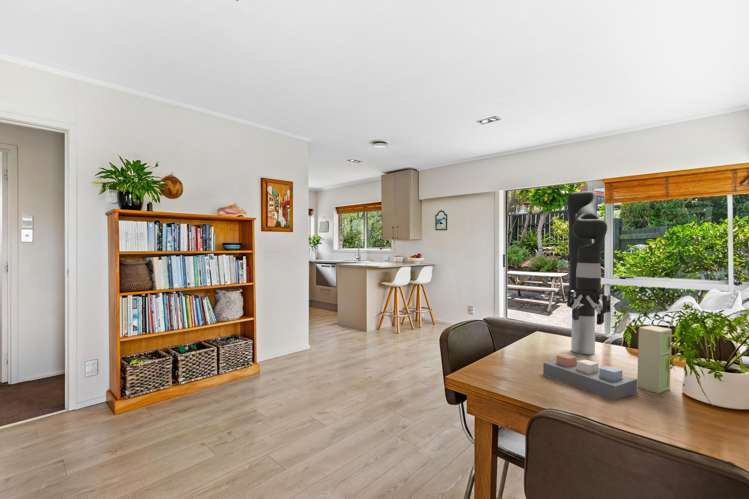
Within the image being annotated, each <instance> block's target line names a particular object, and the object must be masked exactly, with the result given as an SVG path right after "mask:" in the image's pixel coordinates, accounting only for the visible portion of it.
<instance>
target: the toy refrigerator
mask: <svg viewBox="0 0 749 499" xmlns="http://www.w3.org/2000/svg"><path fill="white" fill-rule="evenodd" d="M672 332H673V330H672V328H668V327H661V326H657V325H644V326H640V327H638V341H637V342H638V347H637V348H638V349H637V378H636V379H637V388H639V389H643V390H646V391H649V392H652V393H655V394H661V393H663V392H666V391H669V390H670V389H671V365H672V363H671V364H670V359H669V357H670V356H671V357H672V339H673V338H672V336H673V335H672V334H673V333H672ZM666 344H667V345H666ZM668 345H671V346H668Z"/></svg>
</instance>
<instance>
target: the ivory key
mask: <svg viewBox="0 0 749 499" xmlns="http://www.w3.org/2000/svg"><path fill="white" fill-rule="evenodd" d="M598 368H599V362H595V361H592V360H588V359H581V360H577V370H579V371H582V372H585V373H588V374H593V373H597V372H598Z"/></svg>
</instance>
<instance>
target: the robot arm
mask: <svg viewBox="0 0 749 499" xmlns="http://www.w3.org/2000/svg"><path fill="white" fill-rule="evenodd" d="M598 205H599V203H598V196H597V193H596V192H595V191H592V190H588V191H576V192H575V191H572V192H569V193H568V195H567V199H566V207H567V218H568V257H569V258H568V259H569V278H568V279H569V280H568V281H569V282H568V290H567V297H566V306H567V308H570V309H571V344H570V347H571V352H573V353H576V354H579V355H580V354H581V355H593V354H595V352H596V330H595V328H596V327H595V325H597V326H600V325H603V324H604V322H605V314H607V313H611V295H610V294H601V289H602V286H601V285H602V284H601V283H602V282H601V281H602V268H601V267H602V266H601V251H602V247H603V243H604V241H605V238H606V234H607V232H608V225H607V222H606V220H604V219H603V218H599V216H598V207H599V206H598ZM593 240H594V241H593ZM600 301H601V302H602V303H601V302H600ZM595 321H596V322H595ZM595 323H596V324H595Z"/></svg>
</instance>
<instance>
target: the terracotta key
mask: <svg viewBox="0 0 749 499" xmlns="http://www.w3.org/2000/svg"><path fill="white" fill-rule="evenodd" d="M577 358H578V357H577V356H575V355H572V354H569V353H568V354H567V353H561V354H557V355H556V360H557V364H560V365H563V366H566V367H572V366H576V365H577V361H578V360H577Z"/></svg>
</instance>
